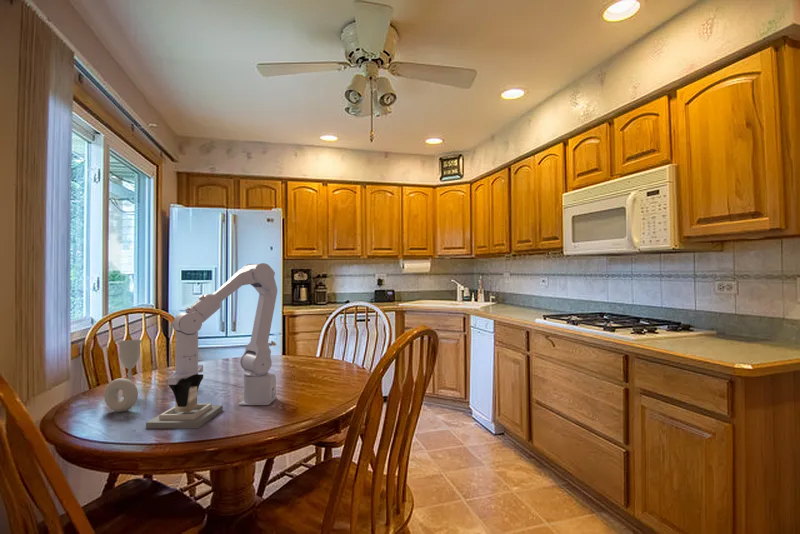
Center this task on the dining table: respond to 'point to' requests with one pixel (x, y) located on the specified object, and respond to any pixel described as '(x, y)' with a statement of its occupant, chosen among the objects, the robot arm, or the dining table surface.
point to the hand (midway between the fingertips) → (186, 403)
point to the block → (189, 401)
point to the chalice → (129, 355)
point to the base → (185, 417)
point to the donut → (129, 392)
